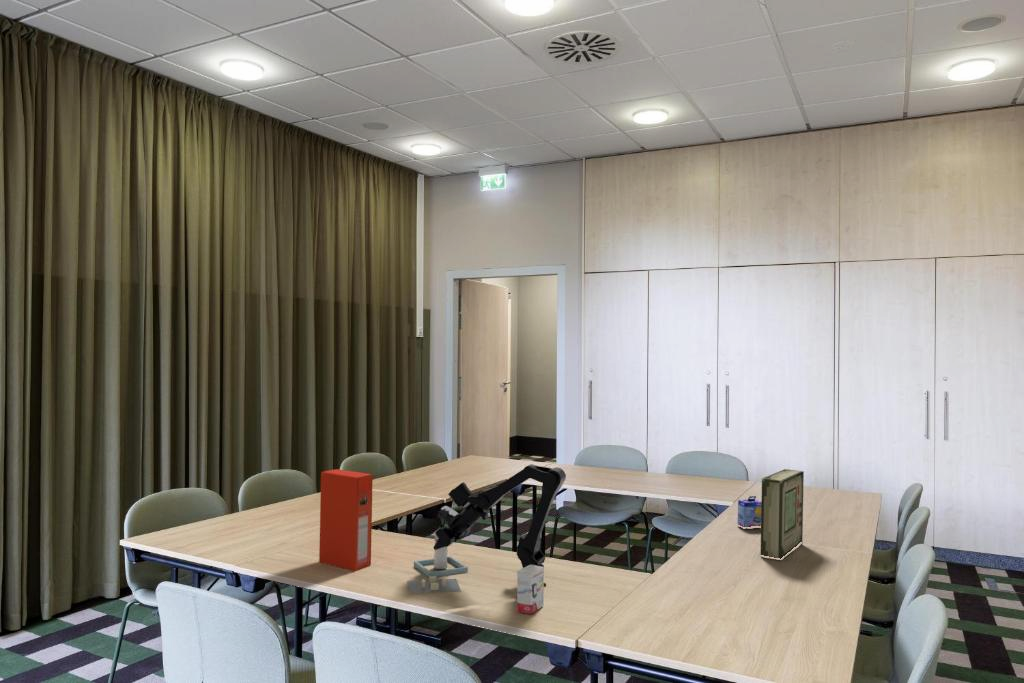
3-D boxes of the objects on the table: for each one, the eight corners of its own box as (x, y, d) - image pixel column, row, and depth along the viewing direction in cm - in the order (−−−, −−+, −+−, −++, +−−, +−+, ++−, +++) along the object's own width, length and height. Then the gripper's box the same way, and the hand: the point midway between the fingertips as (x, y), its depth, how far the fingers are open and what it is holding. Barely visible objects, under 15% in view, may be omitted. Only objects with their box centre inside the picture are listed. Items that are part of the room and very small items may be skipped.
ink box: (530, 615, 200) (531, 574, 200) (515, 611, 203) (516, 571, 203) (544, 606, 208) (545, 566, 208) (529, 602, 210) (530, 563, 210)
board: (456, 581, 227) (456, 573, 228) (460, 594, 216) (461, 585, 216) (407, 583, 224) (407, 575, 224) (409, 596, 212) (409, 587, 213)
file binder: (354, 571, 235) (356, 477, 236) (318, 562, 244) (321, 471, 245) (370, 565, 242) (373, 474, 243) (335, 557, 251) (337, 468, 252)
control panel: (780, 561, 259) (782, 481, 260) (760, 557, 264) (761, 478, 264) (802, 544, 283) (803, 471, 283) (783, 541, 288) (784, 469, 288)
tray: (450, 563, 247) (450, 556, 247) (467, 574, 235) (467, 567, 235) (413, 568, 240) (413, 561, 240) (429, 580, 228) (429, 573, 228)
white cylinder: (447, 565, 240) (448, 530, 240) (446, 569, 235) (447, 533, 235) (434, 564, 240) (435, 530, 240) (433, 569, 235) (433, 533, 235)
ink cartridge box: (744, 530, 305) (744, 497, 305) (736, 527, 310) (737, 494, 310) (763, 528, 307) (763, 496, 308) (755, 525, 313) (755, 493, 313)
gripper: (463, 494, 245) (434, 522, 249) (441, 504, 228) (410, 535, 231) (483, 518, 243) (453, 546, 246) (463, 531, 225) (431, 561, 228)
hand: (437, 546), depth 238 cm, fingers open, 5 cm apart
